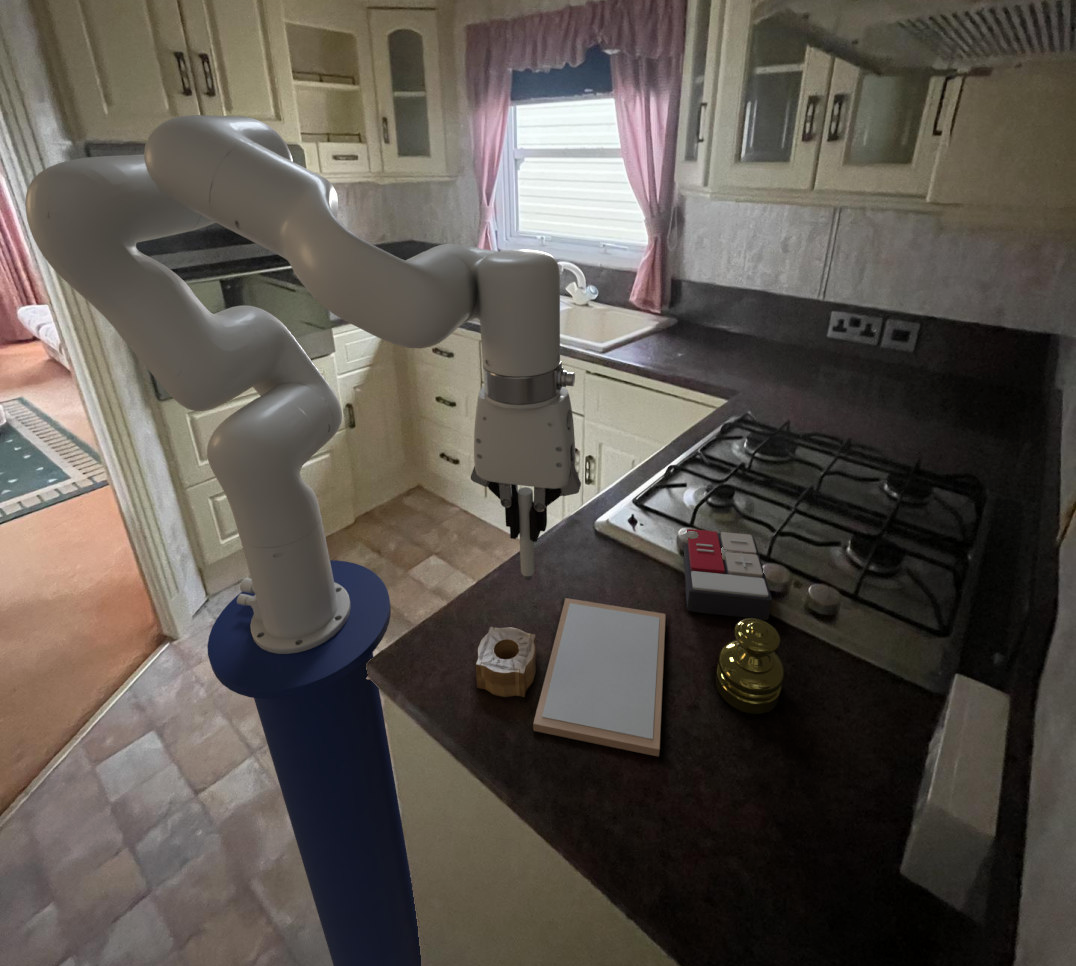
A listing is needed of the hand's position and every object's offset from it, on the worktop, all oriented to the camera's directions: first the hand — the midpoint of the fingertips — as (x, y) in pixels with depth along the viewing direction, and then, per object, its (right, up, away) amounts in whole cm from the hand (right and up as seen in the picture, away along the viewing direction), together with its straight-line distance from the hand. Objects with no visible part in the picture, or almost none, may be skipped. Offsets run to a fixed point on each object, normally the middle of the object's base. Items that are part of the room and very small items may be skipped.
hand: (526, 531), depth 66 cm
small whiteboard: (+10, -19, +9) cm, 23 cm away
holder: (-3, -20, +9) cm, 22 cm away
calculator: (+29, -13, +23) cm, 39 cm away
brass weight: (+27, -21, +6) cm, 34 cm away
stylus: (0, -6, +3) cm, 7 cm away
